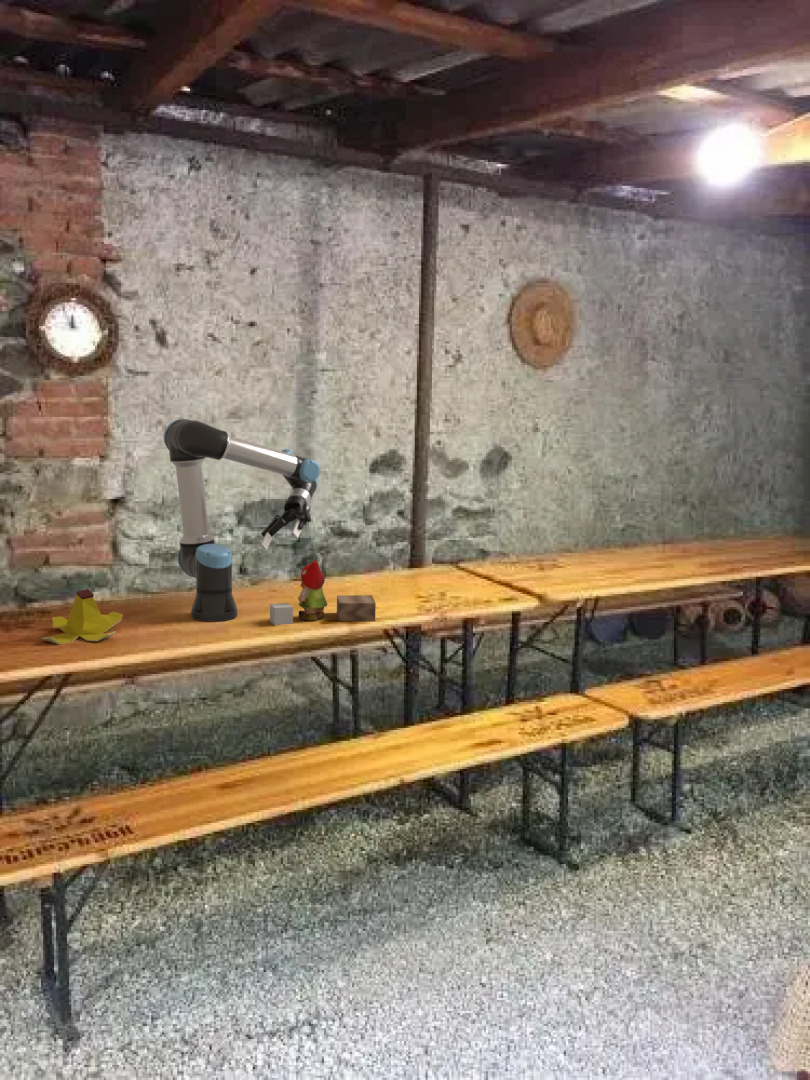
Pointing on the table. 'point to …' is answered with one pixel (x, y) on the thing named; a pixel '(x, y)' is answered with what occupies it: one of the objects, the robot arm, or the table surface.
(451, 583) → the table surface
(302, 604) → the figurine
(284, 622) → the grey cube
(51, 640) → the banana peel
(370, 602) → the pedestal
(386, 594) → the table surface
